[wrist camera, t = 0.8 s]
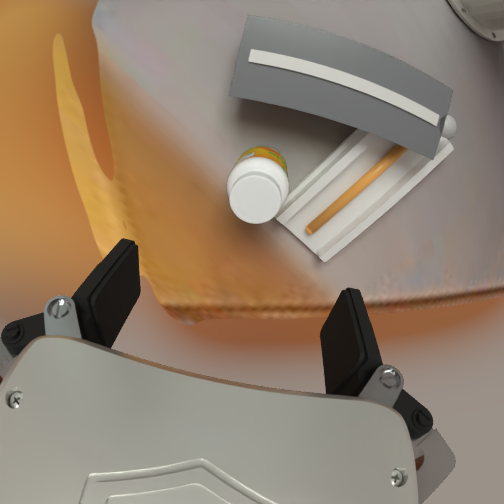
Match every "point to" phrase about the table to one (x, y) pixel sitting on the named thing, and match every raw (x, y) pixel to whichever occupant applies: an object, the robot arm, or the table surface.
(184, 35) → the table surface
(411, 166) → the duct base
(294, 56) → the block
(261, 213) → the supplement bottle
